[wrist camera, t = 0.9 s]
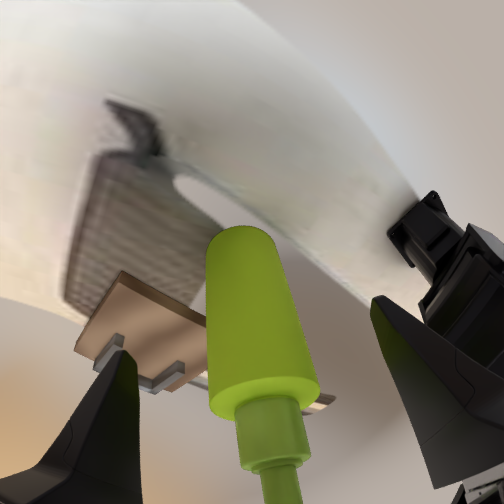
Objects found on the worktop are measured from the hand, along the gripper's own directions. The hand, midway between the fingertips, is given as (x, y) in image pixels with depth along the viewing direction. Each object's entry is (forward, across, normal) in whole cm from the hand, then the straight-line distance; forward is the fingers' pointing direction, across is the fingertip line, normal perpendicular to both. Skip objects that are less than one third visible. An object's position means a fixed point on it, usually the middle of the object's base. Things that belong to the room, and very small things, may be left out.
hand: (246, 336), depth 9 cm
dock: (+13, +13, +15) cm, 24 cm away
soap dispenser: (+14, +1, +7) cm, 15 cm away
